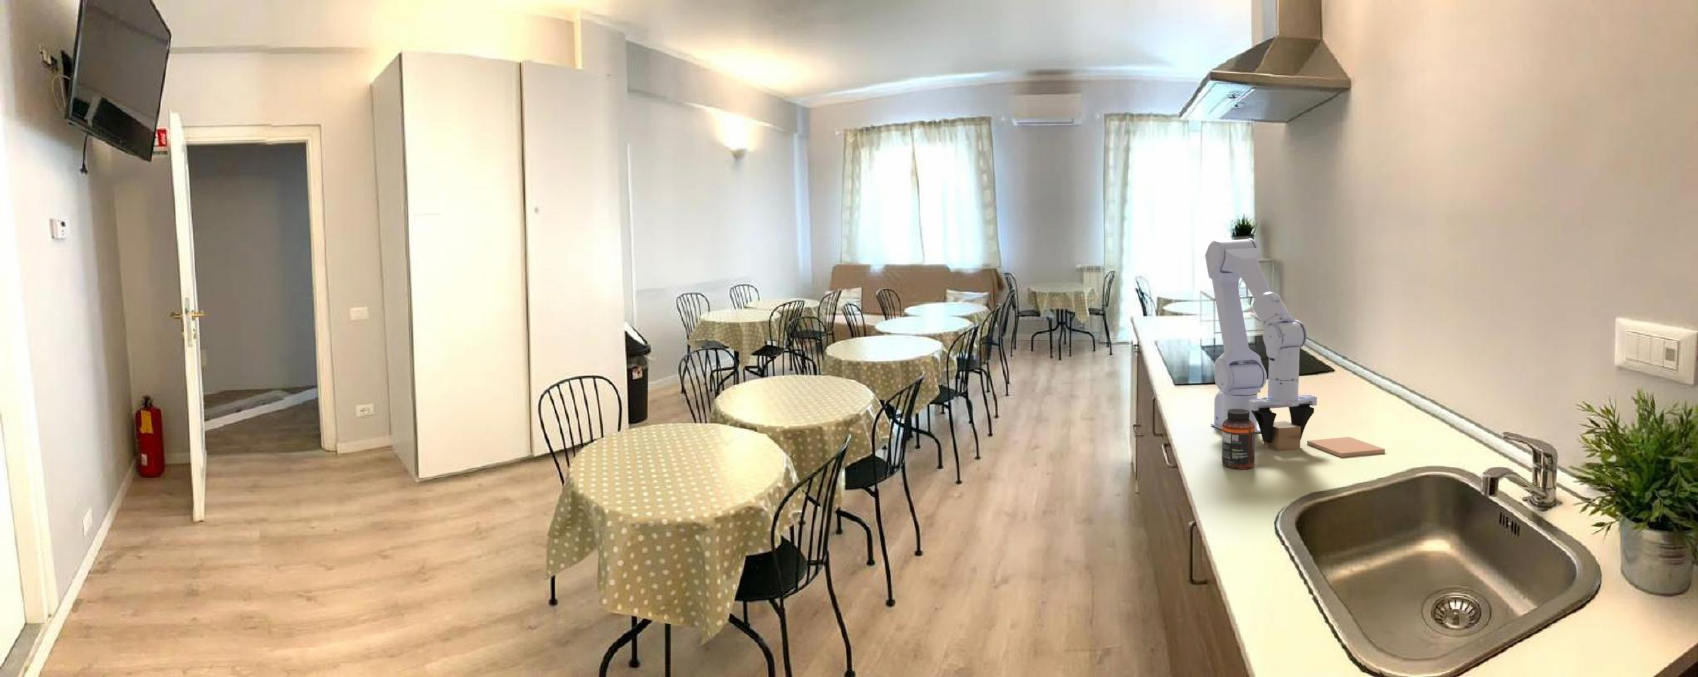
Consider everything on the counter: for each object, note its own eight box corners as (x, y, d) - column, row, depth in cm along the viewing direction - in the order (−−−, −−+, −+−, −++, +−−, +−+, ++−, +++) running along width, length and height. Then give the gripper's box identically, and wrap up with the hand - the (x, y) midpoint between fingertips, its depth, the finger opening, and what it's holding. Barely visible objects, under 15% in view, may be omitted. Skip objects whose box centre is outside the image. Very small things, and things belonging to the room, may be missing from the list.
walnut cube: (1263, 445, 181) (1263, 422, 180) (1284, 443, 181) (1285, 420, 181) (1278, 451, 176) (1279, 428, 175) (1300, 449, 176) (1300, 426, 176)
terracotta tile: (1307, 444, 179) (1307, 440, 179) (1349, 440, 181) (1349, 436, 181) (1340, 457, 170) (1340, 453, 169) (1384, 452, 171) (1384, 449, 171)
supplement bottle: (1247, 460, 170) (1248, 406, 169) (1259, 469, 164) (1260, 413, 163) (1217, 461, 171) (1218, 407, 169) (1227, 470, 165) (1228, 414, 163)
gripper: (1263, 384, 171) (1262, 448, 173) (1327, 379, 173) (1325, 442, 175) (1243, 378, 178) (1241, 439, 180) (1304, 373, 180) (1302, 433, 182)
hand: (1281, 440), depth 178 cm, fingers open, 6 cm apart
